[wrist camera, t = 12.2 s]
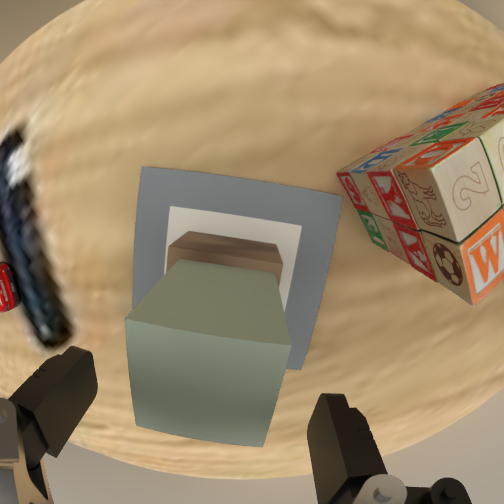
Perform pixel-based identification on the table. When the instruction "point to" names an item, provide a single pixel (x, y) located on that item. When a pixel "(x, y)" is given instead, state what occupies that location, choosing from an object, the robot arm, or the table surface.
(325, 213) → the board
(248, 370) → the sage block
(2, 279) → the race car
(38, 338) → the table surface
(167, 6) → the table surface
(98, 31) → the table surface
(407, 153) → the stack of blocks
